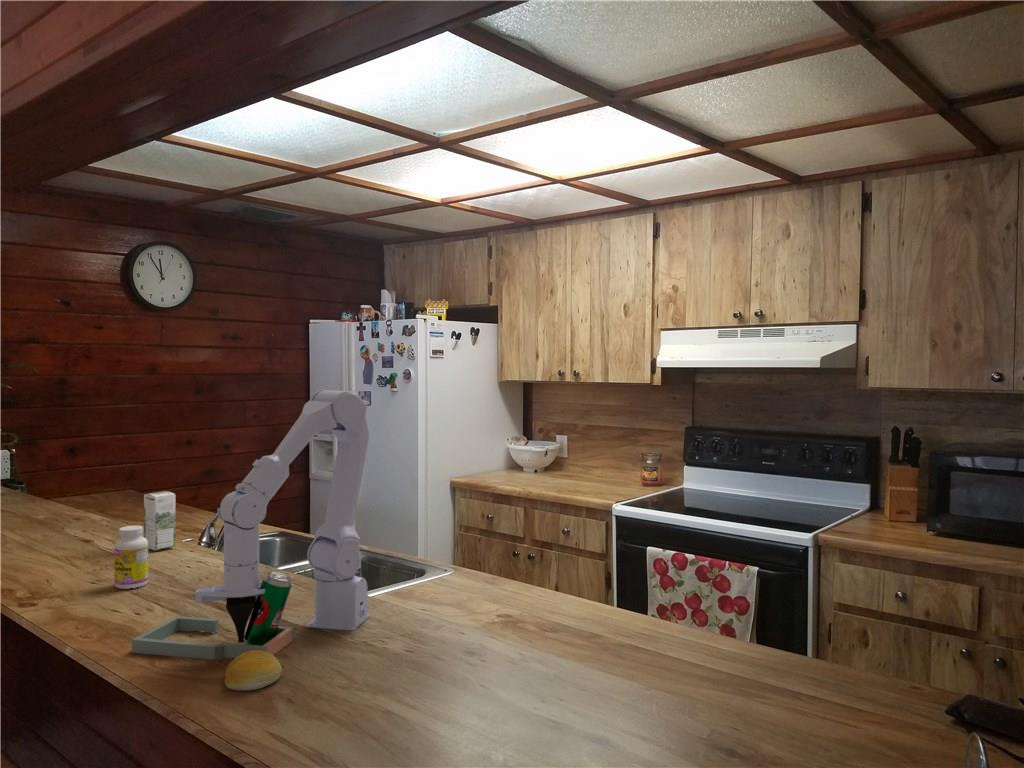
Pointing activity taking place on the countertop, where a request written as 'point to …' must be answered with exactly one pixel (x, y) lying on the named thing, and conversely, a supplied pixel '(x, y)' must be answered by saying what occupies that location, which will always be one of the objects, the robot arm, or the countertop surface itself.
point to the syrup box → (159, 520)
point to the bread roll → (252, 671)
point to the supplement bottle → (131, 558)
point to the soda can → (268, 609)
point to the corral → (157, 646)
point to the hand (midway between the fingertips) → (241, 640)
